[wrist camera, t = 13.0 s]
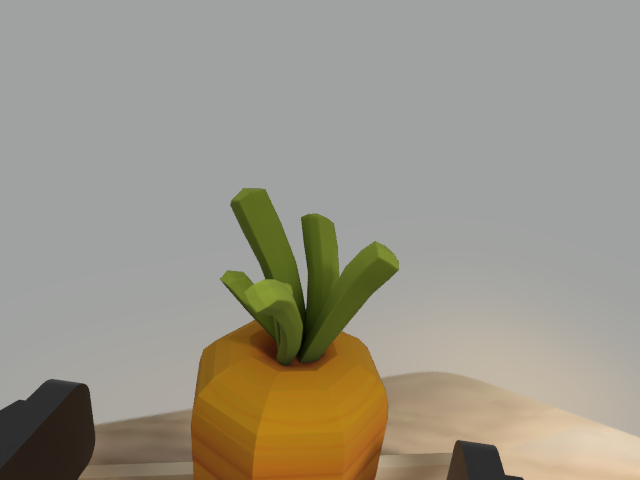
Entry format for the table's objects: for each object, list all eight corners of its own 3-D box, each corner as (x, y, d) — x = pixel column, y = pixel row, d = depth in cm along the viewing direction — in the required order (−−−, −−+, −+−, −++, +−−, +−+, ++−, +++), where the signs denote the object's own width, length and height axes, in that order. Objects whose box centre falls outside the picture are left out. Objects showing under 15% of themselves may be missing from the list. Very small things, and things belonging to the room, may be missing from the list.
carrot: (377, 681, 15) (473, 225, 10) (224, 794, 12) (238, 259, 7) (300, 545, 19) (337, 168, 13) (172, 610, 16) (155, 177, 11)
